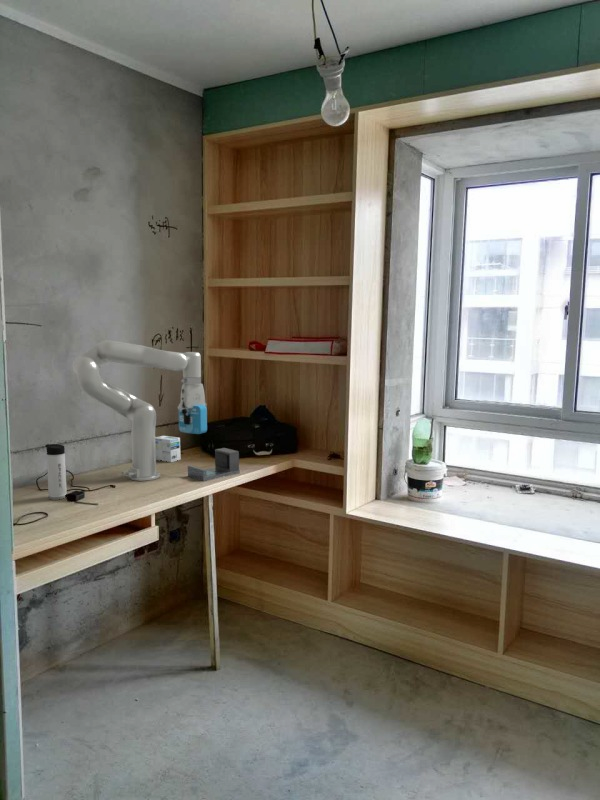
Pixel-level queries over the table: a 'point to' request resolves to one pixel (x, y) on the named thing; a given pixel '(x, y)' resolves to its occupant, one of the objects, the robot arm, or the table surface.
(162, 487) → the table surface
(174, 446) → the light bulb box
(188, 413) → the robot arm
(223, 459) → the grey l-shaped block
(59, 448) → the travel mug
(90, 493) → the table surface
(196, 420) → the data package
